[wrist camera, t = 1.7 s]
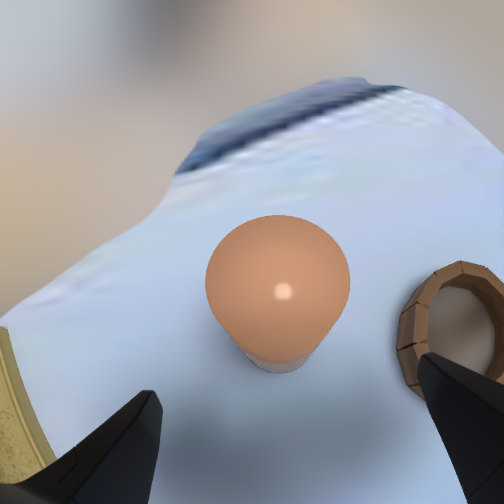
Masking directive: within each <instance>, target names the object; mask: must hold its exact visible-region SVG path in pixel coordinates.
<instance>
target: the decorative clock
mask: <svg viewBox="0 0 504 504" xmlns="http://www.w3.org/2000/svg"><path fill="white" fill-rule="evenodd" d="M56 460H57V458H56V456H55V455H54V453H53V451H52V449H51V447H50V445H49V443H48V441H47V439H46V437H45V435H44V433H43V431H42V429H41V426H40V424H39V422H38V420H37V417H36V415H35V413H34V410H33V408H32V405H31V403H30V400H29V398H28V395H27V393H26V390H25V387H24V384H23V381H22V379H21V376H20V373H19V369H18V366H17V363H16V360H15V356H14V353H13V349H12V345H11V342H10V338H9V334H8V329H6V328H3V327H1V326H0V483H18V482H21V481H24V480H26V479H27V478H29V477H31V476H32V475H34V474H36V473H37V472H39V471H41V470H42V469H44V468H45V467H47V466H49V465H50V464H52V463H53V462H55V461H56Z"/></svg>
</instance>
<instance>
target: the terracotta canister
mask: <svg viewBox="0 0 504 504" xmlns="http://www.w3.org/2000/svg"><path fill="white" fill-rule="evenodd" d="M205 286H206V294H207V299H208V302H209V305H210V308H211V310H212V312H213V314H214V315H215V317H216V319H217V320H218V322H219V323H220V324H221V325H222V326H223V328H224V329H225V330H226V331H227V333H228V334H229V335H230V336H231V337H232V339H233V340H234V341H235V342H236V343H237V344H238V346H239V347H240V348H241V349H242V350H243V351H244V353H245V354H246V355H247V356H248V357H249V358H250V360H251V361H252V362H253V363H254V364H255V365H257V366H258V367H259V368H261V369H263V370H265V371H268V372H272V373H286V372H290V371H293V370H295V369H297V368H299V367H300V366H302V365H303V364H304V363H305V362H306V361H307V360H308V358H309V357H310V356H311V355H312V353H313V352H314V351H315V349H316V348H317V347H318V346H319V344H320V343H321V342H322V340H323V339H324V338H325V336H326V335H327V334H328V332H329V331H330V329H331V328H332V327H333V325H334V324H335V323H336V321H337V320H338V318H339V317H340V315H341V314H342V312H343V310H344V308H345V305H346V302H347V300H348V295H349V291H350V273H349V268H348V264H347V261H346V258H345V256H344V254H343V252H342V250H341V248H340V247H339V245H338V244H337V243H336V241H335V240H334V239H333V238H332V237H331V236H330V235H329V234H328V233H327V232H325V231H324V230H323V229H321V228H320V227H318V226H317V225H315V224H313V223H311V222H309V221H306V220H303V219H301V218H297V217H292V216H284V215H273V216H265V217H260V218H257V219H254V220H251V221H248V222H246V223H244V224H242V225H240V226H239V227H237V228H235V229H234V230H233V231H231V232H230V233H229V234H228V235H227V236H226V237H225V238H224V239H223V240H222V241H221V242H220V243H219V245H218V246H217V247H216V249H215V251H214V252H213V254H212V256H211V258H210V261H209V264H208V267H207V271H206V279H205Z"/></svg>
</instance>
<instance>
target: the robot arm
mask: <svg viewBox="0 0 504 504" xmlns="http://www.w3.org/2000/svg"><path fill="white" fill-rule="evenodd" d="M416 375H417V379H418V382H419V385H420V388H421V390H422V393H423V396H424V399H425V402H426V405H427V407H428V410H429V413H430V415H431V417H432V419H433V421H434V423H435V426H436V428H437V430H438V432H439V434H440V436H441V439H442V441H443V443H444V445H445V448H446V450H447V452H448V455H449V457H450V459H451V462H452V464H453V467H454V469H455V472H456V474H457V477H458V479H459V482H460V484H461V487H462V489H463V492H464V495H465V498H466V500H467V504H504V384H501V383H499V382H497V381H495V380H493V379H490V378H488V377H486V376H484V375H482V374H480V373H477V372H475V371H473V370H471V369H469V368H466V367H464V366H462V365H460V364H458V363H456V362H453V361H451V360H449V359H447V358H445V357H443V356H441V355H438V354H436V353H434V352H428V353H424V354H422V355H421V356H420V360H419V364H418V368H417V374H416ZM162 415H163V409H162V405H161V403H160V401H159V399H158V397H157V395H156V393H155V391H153V390H142V391H141V392H140V393H138V394H137V395H136V396H135V397H134V398H132V399H131V400H130V401H129V402H128V403H127V404H125V405H124V406H123V407H122V408H121V409H120V410H118V411H117V412H116V413H115V414H114V415H112V416H111V417H110V418H109V419H108V420H106V421H105V422H104V423H103V424H102V425H100V426H99V427H98V428H97V429H96V430H94V431H93V432H92V433H91V434H89V435H88V436H87V437H86V438H85V439H83V440H82V441H81V442H80V443H78V444H77V445H76V447H73V448H72V449H71V450H70V451H68V452H67V453H66V454H64V455H63V456H62V457H60V458H59V459H58V460H56V461H55V462H53V463H52V464H50V465H49V466H47V467H45V468H44V469H42V470H41V471H39V472H37V473H36V474H34V475H32V476H31V477H29V478H27V479H26V480H24V481H21V482H18V483H0V504H148V501H149V495H150V490H151V485H152V480H153V476H154V471H155V466H156V461H157V457H158V452H159V445H160V435H161V424H162Z"/></svg>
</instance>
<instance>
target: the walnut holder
mask: <svg viewBox="0 0 504 504" xmlns="http://www.w3.org/2000/svg"><path fill="white" fill-rule="evenodd" d="M401 314H402V315H401V316H400V320H399V330H398V339H397V347H396V350H398V352H397V356H398V359H399V362H400V364H401V367H402V370H403V373H404V376H405V379H406V382H407V385H410V386H409V388H411V389H412V390H413V391H414V392H415V393H417V394H418V395H419V396H420V397H421V398H423V399H424V396H423V393H422V390H421V388H420V385H419V382H418V379H417V375H416V374H417V368H418V364H419V360H420V356H421V355H422V354H424V353H428V352H434V353H436V354H438V355H441V356H443V357H445V358H447V359H449V360H451V361H453V362H456V363H458V364H460V365H462V366H464V367H466V368H469V369H471V370H473V371H475V372H477V373H480V374H482V375H484V376H486V377H488V378H490V379H493V380H495V381H497V382H499V383H501V384H504V283H503V282H502V281H501V280H500V279H499V278H498V277H497V276H496V275H494V274H493V273H492V272H491V271H490V270H489V269H488V268H486V269H485V266H482V265H478V264H473V263H469V262H465V261H460V262H459V261H457V262H455V263H452V264H450V265H448V266H446V267H444V268H441V269H439V270H437V271H435V272H434V273H433V274H432V275H431V276H430V277H429V278H428V279H427V280H425V281H424V282H423V283H422V284H421V285H420V286H419V287H418V288H417V289H416V291H415V292H414V294H413V296H412V297H411V299H410V300H409V302H408V303H407V305H406V306H405V308H404V309H403V311H402V312H401ZM424 400H425V399H424Z"/></svg>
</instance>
